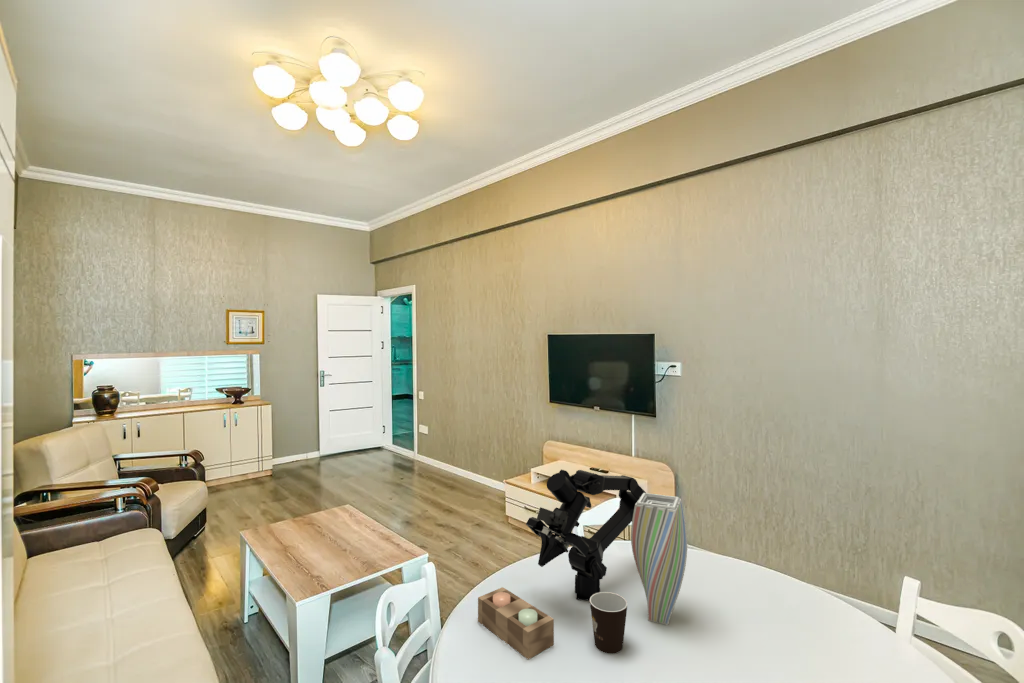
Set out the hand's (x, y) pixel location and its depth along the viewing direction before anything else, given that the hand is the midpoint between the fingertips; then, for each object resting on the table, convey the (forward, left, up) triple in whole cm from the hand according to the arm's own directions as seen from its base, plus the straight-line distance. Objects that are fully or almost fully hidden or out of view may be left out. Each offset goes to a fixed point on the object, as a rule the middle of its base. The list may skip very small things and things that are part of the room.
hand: (539, 565), depth 120 cm
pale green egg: (+2, +10, -12) cm, 15 cm away
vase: (-30, -6, -14) cm, 34 cm away
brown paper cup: (-17, +6, -14) cm, 23 cm away
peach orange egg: (+9, +3, -12) cm, 15 cm away
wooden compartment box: (+5, +7, -14) cm, 16 cm away
